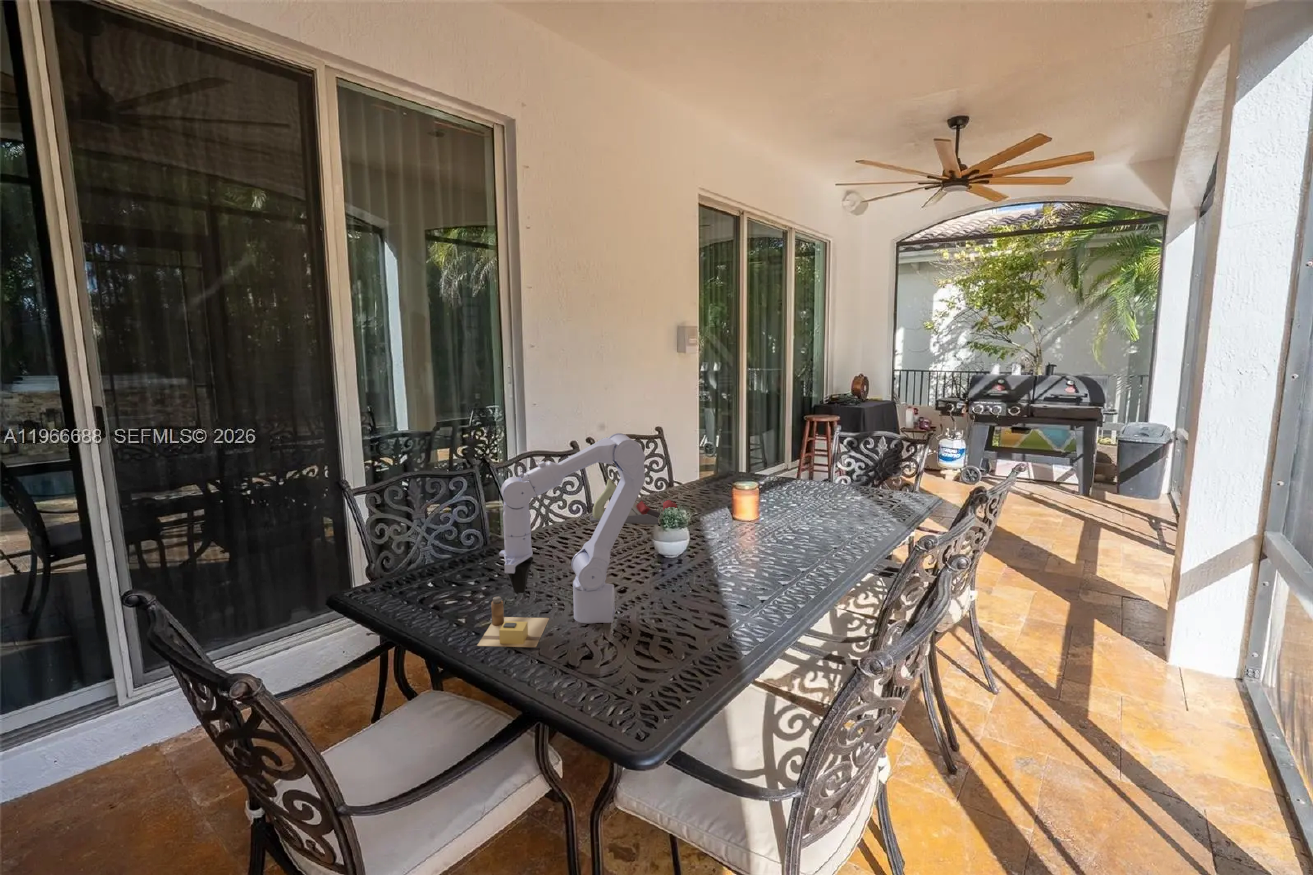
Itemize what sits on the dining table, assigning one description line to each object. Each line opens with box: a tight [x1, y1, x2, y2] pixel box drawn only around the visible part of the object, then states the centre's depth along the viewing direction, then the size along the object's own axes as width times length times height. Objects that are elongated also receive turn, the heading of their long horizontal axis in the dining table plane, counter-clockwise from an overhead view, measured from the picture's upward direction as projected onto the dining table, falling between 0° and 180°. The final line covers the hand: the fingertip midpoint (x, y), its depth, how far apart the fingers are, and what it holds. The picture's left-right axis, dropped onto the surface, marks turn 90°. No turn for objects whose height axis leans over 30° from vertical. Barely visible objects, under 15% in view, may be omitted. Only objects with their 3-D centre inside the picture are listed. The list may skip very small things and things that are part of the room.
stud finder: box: [499, 621, 528, 644], centre depth 131 cm, size 5×4×3 cm
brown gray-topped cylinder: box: [490, 596, 505, 626], centre depth 137 cm, size 3×3×6 cm
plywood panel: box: [476, 616, 550, 648], centre depth 134 cm, size 12×13×1 cm
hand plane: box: [589, 478, 678, 525], centre depth 215 cm, size 7×31×15 cm, turn 83°
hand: (519, 591), depth 135 cm, fingers closed
